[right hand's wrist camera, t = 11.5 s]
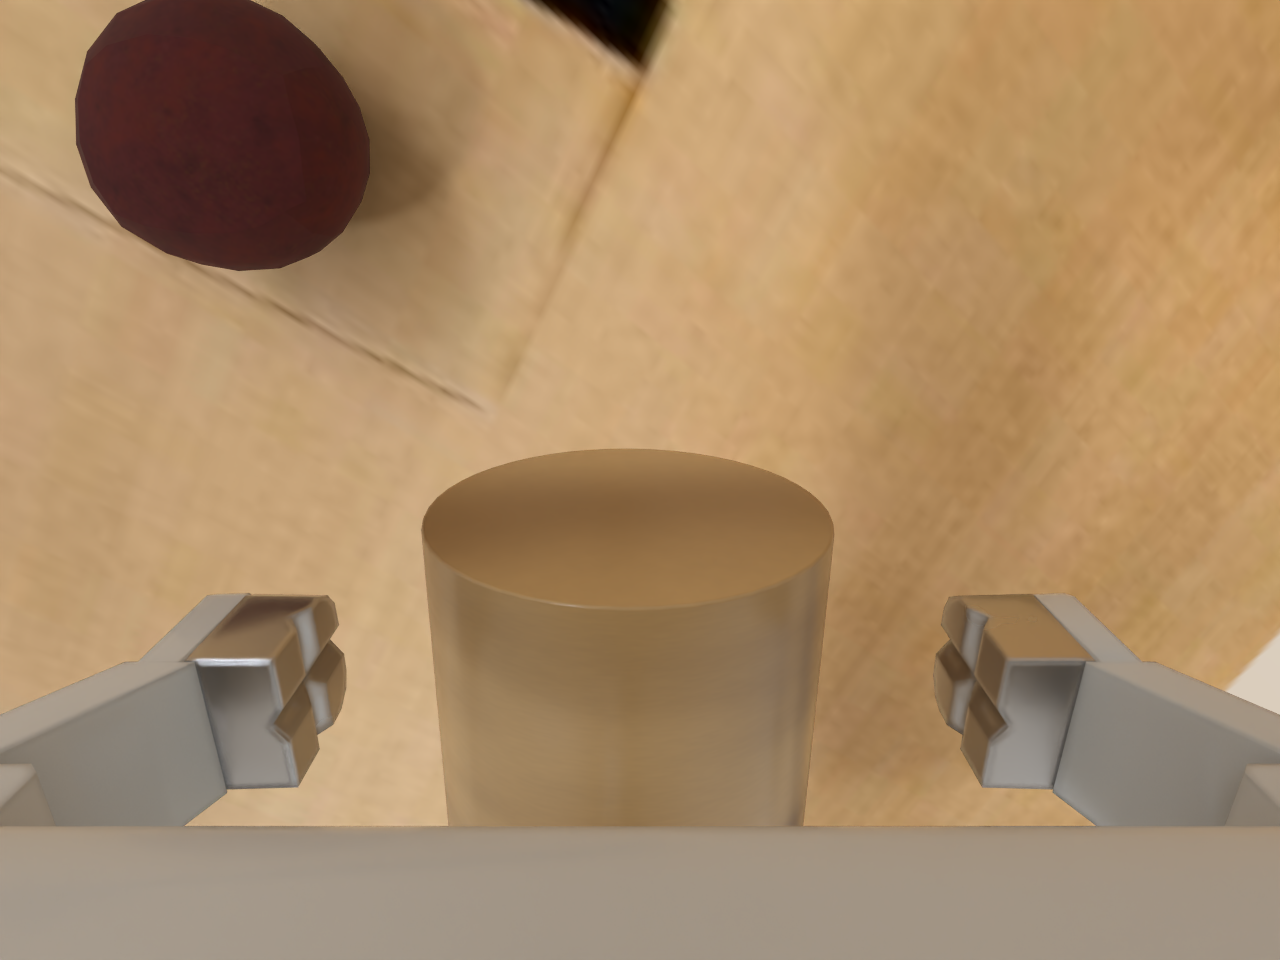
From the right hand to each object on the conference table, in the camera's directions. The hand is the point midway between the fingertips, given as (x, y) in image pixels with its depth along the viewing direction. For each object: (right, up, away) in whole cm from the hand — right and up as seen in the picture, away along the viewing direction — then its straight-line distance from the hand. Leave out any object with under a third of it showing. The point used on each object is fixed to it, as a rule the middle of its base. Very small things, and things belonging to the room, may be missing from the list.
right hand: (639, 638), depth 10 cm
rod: (0, -8, +8) cm, 12 cm away
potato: (-12, +13, +15) cm, 24 cm away
